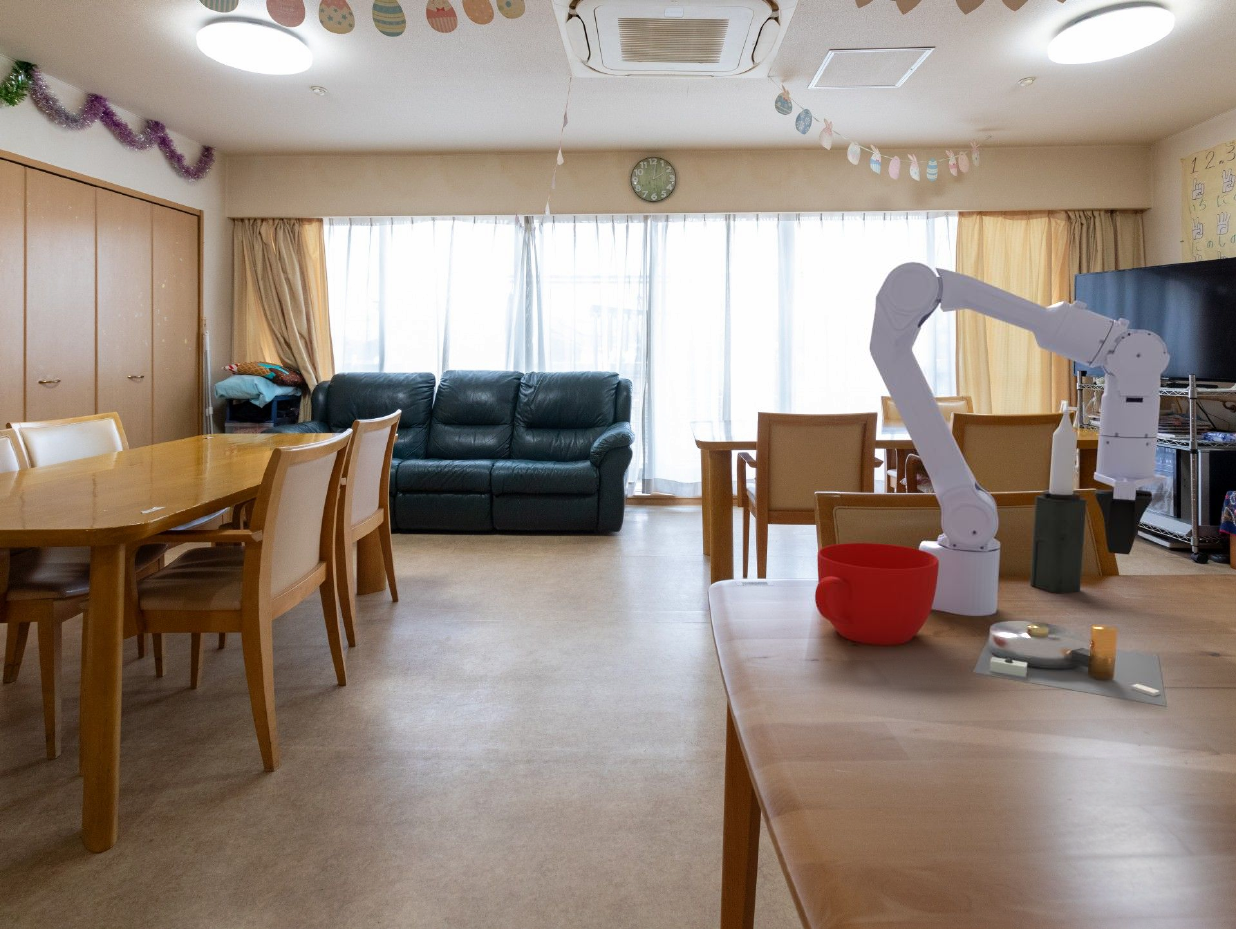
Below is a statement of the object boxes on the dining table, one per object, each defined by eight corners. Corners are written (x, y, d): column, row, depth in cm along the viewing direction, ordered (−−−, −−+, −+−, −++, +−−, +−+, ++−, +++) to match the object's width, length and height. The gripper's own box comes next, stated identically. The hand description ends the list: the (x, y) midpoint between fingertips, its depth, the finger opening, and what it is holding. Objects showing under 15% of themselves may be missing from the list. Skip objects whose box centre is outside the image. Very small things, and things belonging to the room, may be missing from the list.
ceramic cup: (768, 646, 93) (770, 558, 92) (857, 617, 104) (860, 538, 102) (870, 680, 83) (874, 582, 82) (957, 644, 94) (961, 556, 93)
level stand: (972, 682, 83) (973, 659, 82) (990, 639, 95) (992, 619, 95) (1165, 716, 75) (1167, 691, 74) (1157, 664, 87) (1159, 642, 87)
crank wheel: (970, 646, 89) (972, 603, 89) (1026, 634, 93) (1029, 592, 93) (1081, 686, 78) (1085, 638, 77) (1140, 670, 82) (1144, 624, 82)
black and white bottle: (1026, 584, 119) (1037, 408, 116) (1054, 581, 121) (1066, 408, 117) (1054, 593, 114) (1066, 410, 111) (1084, 590, 116) (1097, 410, 113)
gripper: (1173, 442, 87) (1162, 570, 89) (1165, 432, 100) (1156, 544, 101) (1095, 439, 91) (1087, 562, 93) (1097, 430, 103) (1090, 538, 105)
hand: (1118, 552), depth 97 cm, fingers closed
